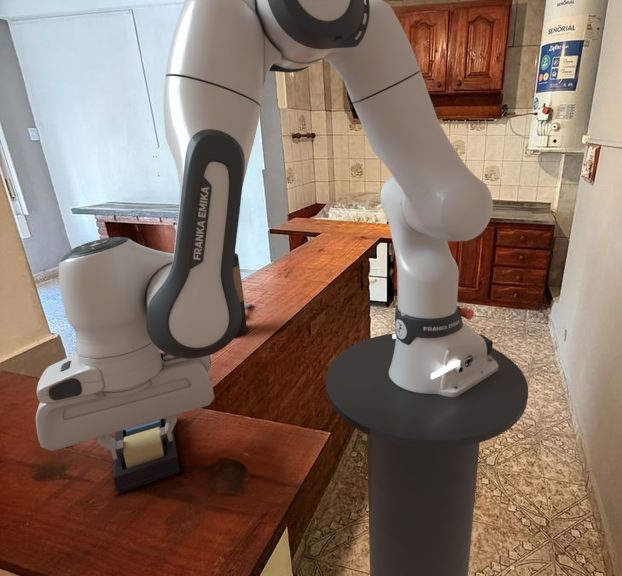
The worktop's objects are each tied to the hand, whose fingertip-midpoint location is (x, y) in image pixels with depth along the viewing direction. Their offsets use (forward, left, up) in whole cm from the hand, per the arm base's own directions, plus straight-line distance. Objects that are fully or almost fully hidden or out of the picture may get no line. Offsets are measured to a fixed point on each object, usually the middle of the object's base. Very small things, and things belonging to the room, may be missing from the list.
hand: (143, 447), depth 57 cm
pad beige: (0, 0, -2) cm, 2 cm away
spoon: (-26, -53, -3) cm, 59 cm away
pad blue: (0, -6, -2) cm, 7 cm away
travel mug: (-20, -41, -3) cm, 46 cm away
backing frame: (0, -3, -3) cm, 5 cm away
